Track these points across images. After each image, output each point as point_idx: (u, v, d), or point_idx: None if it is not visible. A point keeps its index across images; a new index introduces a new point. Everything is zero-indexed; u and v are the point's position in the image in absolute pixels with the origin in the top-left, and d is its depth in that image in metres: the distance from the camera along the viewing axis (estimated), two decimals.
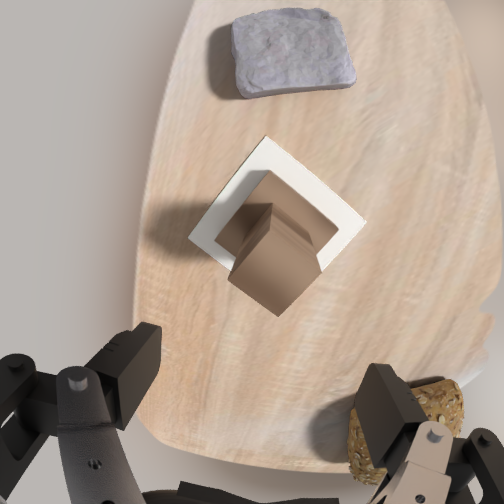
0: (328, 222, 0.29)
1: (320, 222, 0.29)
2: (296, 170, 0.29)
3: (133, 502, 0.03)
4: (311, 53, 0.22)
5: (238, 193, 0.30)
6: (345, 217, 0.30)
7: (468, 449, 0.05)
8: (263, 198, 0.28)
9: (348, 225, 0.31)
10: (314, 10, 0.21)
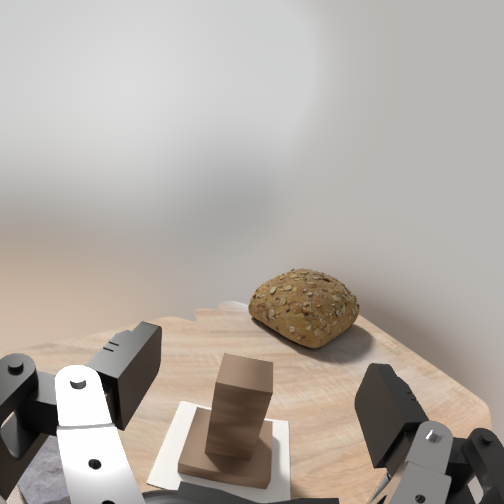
0: (196, 414, 0.29)
1: (199, 419, 0.29)
2: (166, 454, 0.24)
3: (133, 502, 0.03)
4: None
5: (215, 488, 0.21)
6: (185, 413, 0.31)
7: (468, 449, 0.05)
8: (205, 460, 0.23)
9: (191, 410, 0.32)
10: None
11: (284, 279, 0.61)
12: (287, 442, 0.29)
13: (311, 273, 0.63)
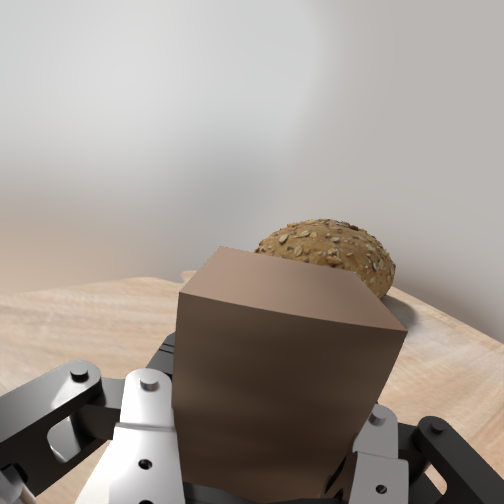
0: None
1: None
2: None
3: None
4: None
5: None
6: None
7: (419, 441, 0.06)
8: None
9: None
10: None
11: (298, 226, 0.44)
12: None
13: (332, 220, 0.46)
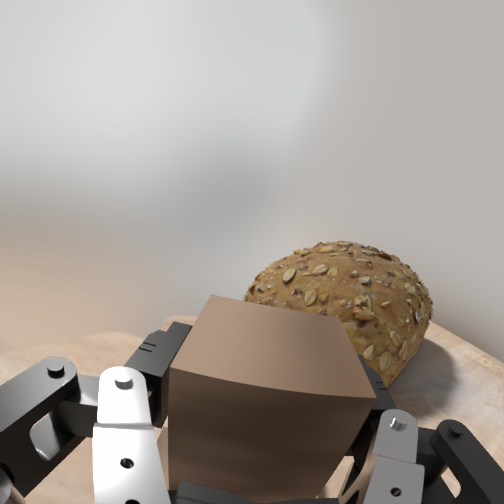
0: (159, 442, 0.13)
1: (166, 452, 0.13)
2: None
3: None
4: None
5: None
6: None
7: (437, 443, 0.05)
8: None
9: None
10: None
11: (309, 255, 0.31)
12: None
13: (356, 246, 0.33)
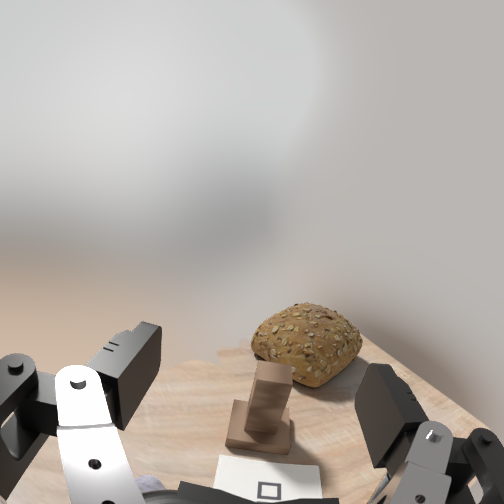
0: (234, 404, 0.42)
1: (237, 407, 0.41)
2: None
3: (133, 502, 0.03)
4: None
5: None
6: (226, 467, 0.31)
7: (468, 449, 0.05)
8: (245, 435, 0.36)
9: (230, 463, 0.32)
10: None
11: (286, 317, 0.60)
12: (319, 485, 0.29)
13: (314, 310, 0.61)
